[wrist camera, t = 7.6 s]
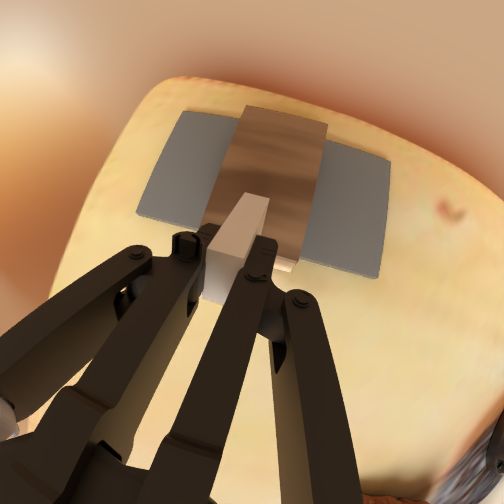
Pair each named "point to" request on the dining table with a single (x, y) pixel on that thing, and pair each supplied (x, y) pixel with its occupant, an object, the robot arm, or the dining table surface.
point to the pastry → (388, 500)
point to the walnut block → (272, 176)
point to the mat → (323, 205)
